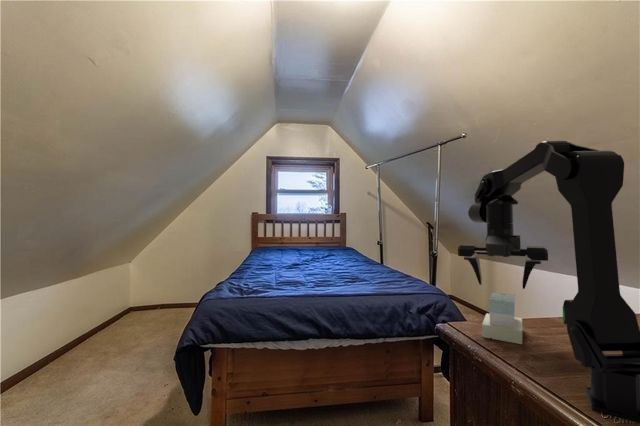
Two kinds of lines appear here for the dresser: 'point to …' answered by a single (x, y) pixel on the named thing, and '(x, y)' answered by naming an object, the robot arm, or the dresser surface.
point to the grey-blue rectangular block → (502, 310)
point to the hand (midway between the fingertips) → (501, 286)
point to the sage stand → (502, 331)
